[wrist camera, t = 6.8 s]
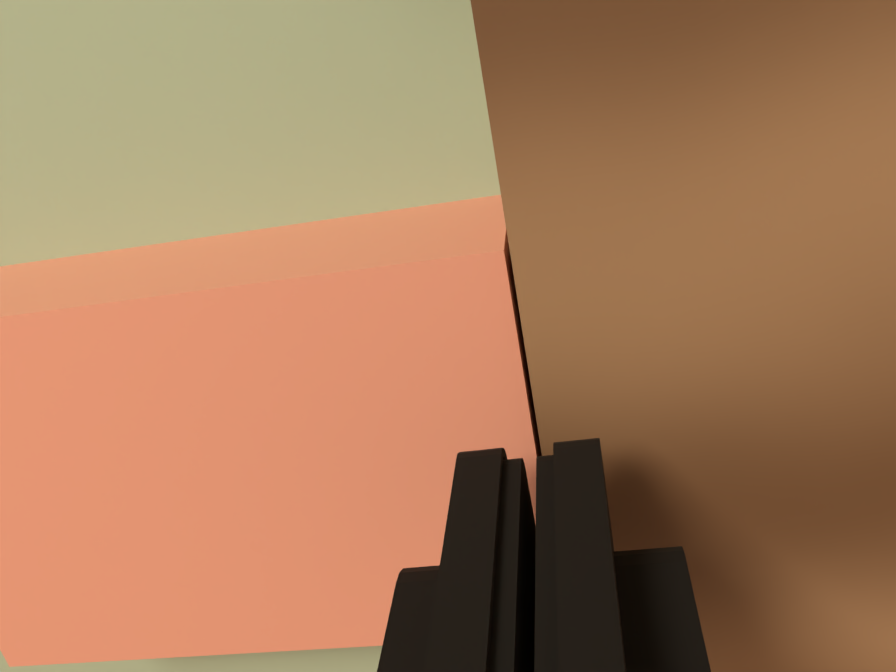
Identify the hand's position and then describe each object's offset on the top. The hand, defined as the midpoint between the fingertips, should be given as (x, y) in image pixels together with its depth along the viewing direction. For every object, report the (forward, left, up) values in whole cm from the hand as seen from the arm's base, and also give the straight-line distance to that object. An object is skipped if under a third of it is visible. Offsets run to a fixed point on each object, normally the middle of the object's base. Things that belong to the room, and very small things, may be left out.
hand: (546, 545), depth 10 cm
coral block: (0, -5, -2) cm, 5 cm away
